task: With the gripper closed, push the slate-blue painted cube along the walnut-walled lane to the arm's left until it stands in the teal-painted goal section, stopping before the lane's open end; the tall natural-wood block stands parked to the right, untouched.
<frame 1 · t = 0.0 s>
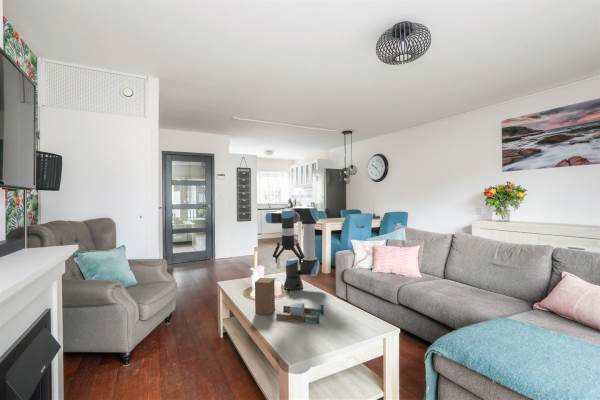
hand: (288, 269, 175), 28 cm above the table, fingers open, 13 cm apart
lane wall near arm: (303, 312, 178), on the table
wooden block: (265, 311, 180), on the table
lane wall camera side: (297, 320, 166), on the table
slate block: (297, 316, 172), on the table
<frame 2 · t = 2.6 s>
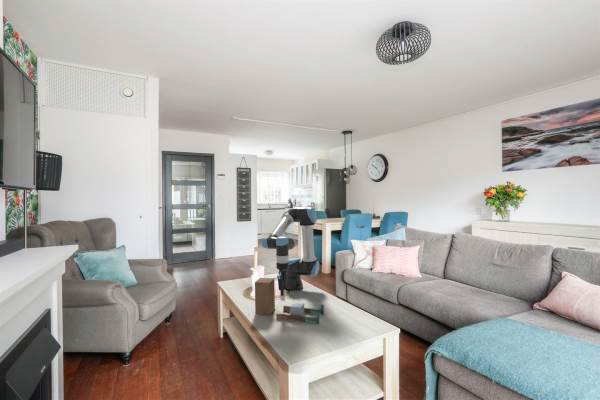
hand: (282, 300, 174), 9 cm above the table, fingers closed
nothing on the table moved.
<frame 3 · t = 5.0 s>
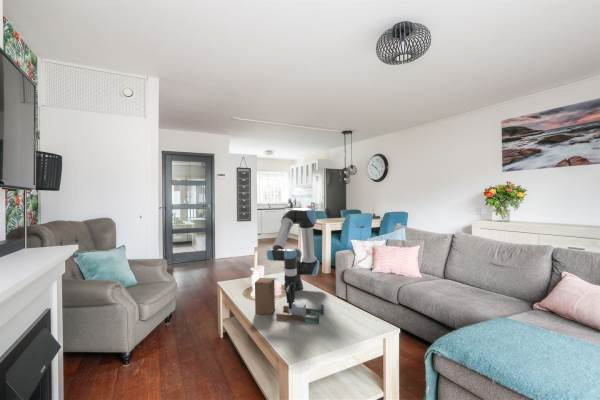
hand: (291, 313, 173), 2 cm above the table, fingers closed
slate block: (298, 316, 172), on the table, touching gripper
everything else where it was.
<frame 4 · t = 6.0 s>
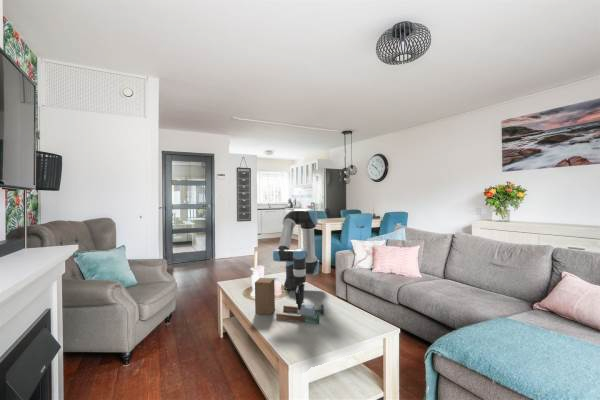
hand: (300, 314, 171), 2 cm above the table, fingers closed
slate block: (308, 317, 170), on the table, touching gripper
everything else where it was.
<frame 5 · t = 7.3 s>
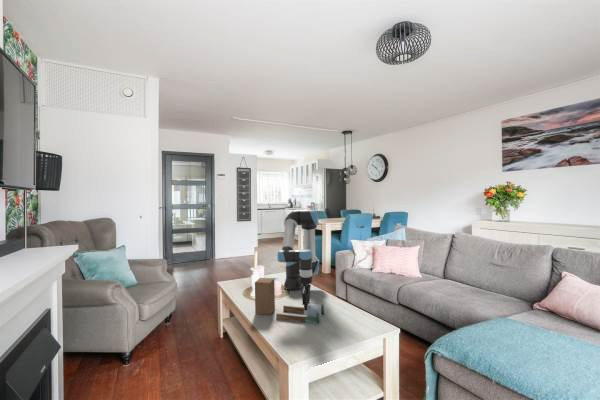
hand: (306, 314, 170), 1 cm above the table, fingers closed
slate block: (314, 318, 169), on the table, touching gripper
everything else where it was.
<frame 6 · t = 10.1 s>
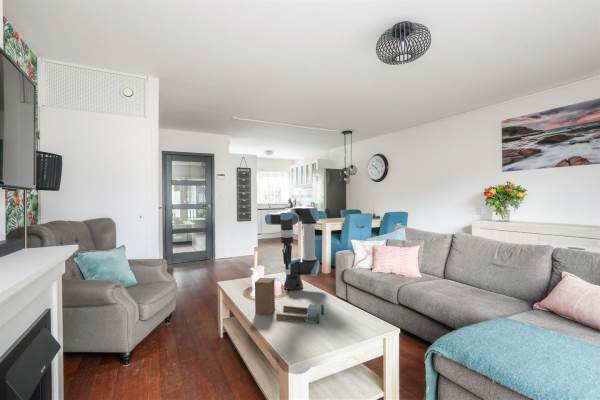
hand: (287, 274, 176), 25 cm above the table, fingers closed
slate block: (314, 318, 169), on the table
everything else where it was.
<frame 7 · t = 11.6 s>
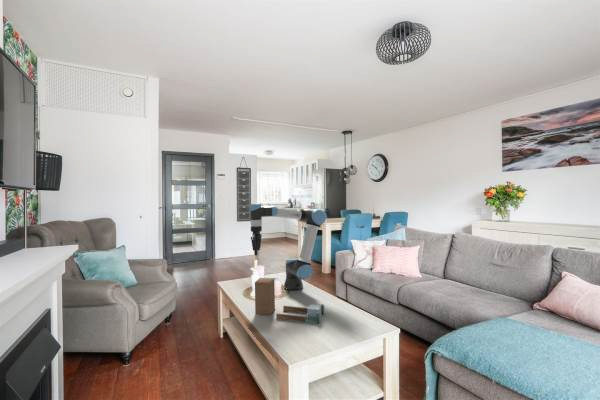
hand: (256, 259, 197), 29 cm above the table, fingers closed
nothing on the table moved.
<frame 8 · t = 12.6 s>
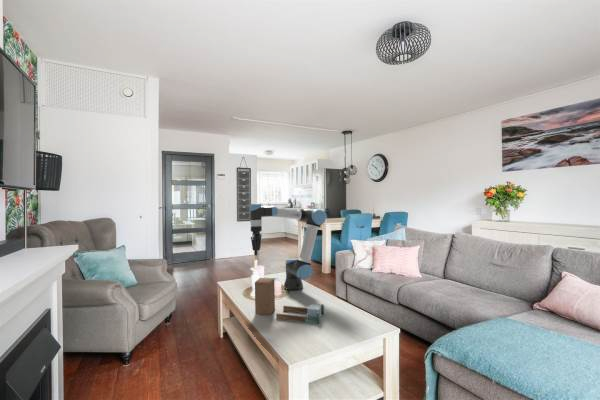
hand: (256, 259, 197), 29 cm above the table, fingers closed
nothing on the table moved.
at the end: slate block inside the target area (0.3 cm from its centre), on the table; slate block tilted 0° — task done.
